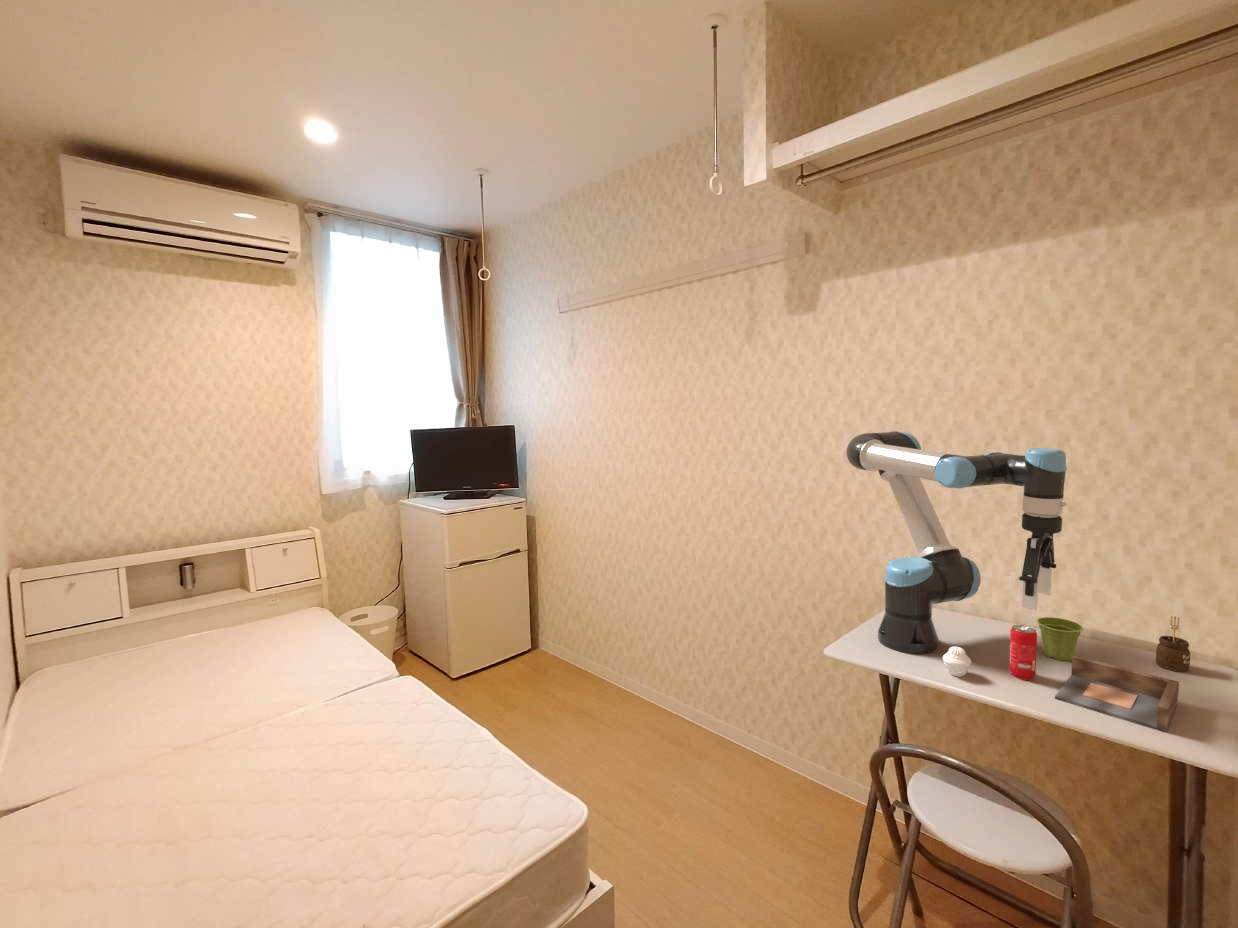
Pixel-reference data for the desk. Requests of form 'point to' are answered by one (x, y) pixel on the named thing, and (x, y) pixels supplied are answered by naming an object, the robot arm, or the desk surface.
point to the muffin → (956, 661)
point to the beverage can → (1023, 652)
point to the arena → (1121, 693)
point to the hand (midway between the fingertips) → (1036, 600)
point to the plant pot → (1059, 637)
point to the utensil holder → (1173, 651)
